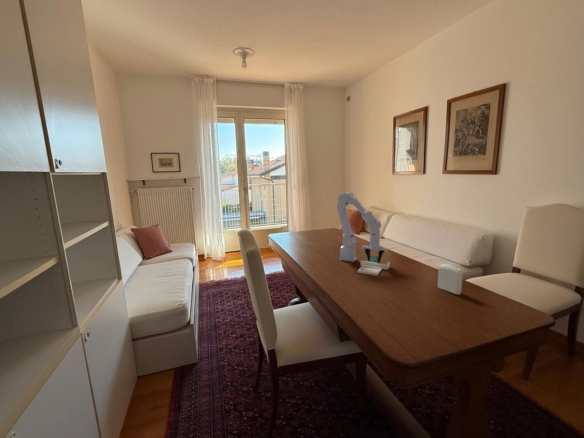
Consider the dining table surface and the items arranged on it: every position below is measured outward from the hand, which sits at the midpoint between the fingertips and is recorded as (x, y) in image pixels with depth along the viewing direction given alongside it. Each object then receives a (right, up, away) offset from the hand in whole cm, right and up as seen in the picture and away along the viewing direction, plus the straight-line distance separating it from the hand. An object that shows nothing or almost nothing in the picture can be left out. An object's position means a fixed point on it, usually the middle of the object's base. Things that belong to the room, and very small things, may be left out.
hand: (374, 261), depth 163 cm
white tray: (-6, -4, -13) cm, 15 cm away
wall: (-1, -2, -4) cm, 5 cm away
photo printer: (+23, -8, -39) cm, 46 cm away
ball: (0, -1, 0) cm, 1 cm away
